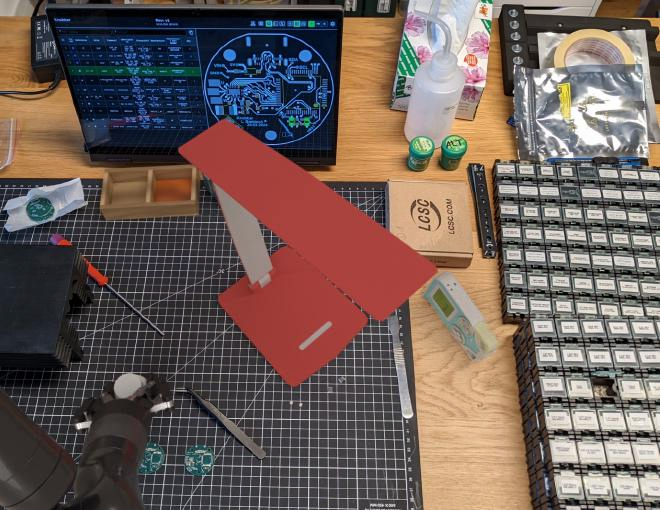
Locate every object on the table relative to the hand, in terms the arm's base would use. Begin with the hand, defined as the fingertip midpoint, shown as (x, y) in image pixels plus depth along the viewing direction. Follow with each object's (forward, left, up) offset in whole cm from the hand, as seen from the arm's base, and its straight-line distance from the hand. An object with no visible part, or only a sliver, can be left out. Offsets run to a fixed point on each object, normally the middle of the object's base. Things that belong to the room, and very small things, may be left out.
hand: (132, 382), depth 95 cm
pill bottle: (0, -2, -6) cm, 7 cm away
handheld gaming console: (+52, +8, -6) cm, 53 cm away
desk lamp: (+26, +11, -6) cm, 29 cm away
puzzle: (+13, +40, -6) cm, 42 cm away
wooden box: (-1, +39, -6) cm, 39 cm away
